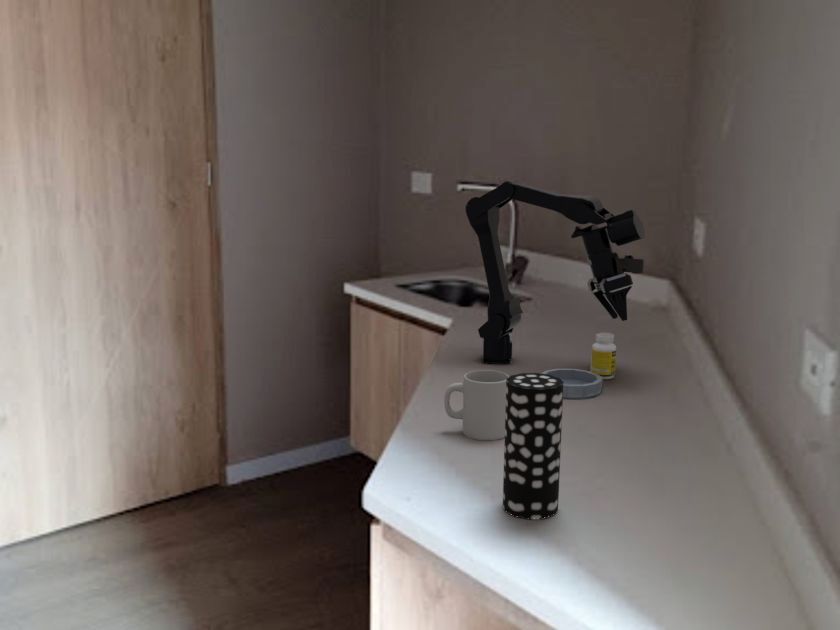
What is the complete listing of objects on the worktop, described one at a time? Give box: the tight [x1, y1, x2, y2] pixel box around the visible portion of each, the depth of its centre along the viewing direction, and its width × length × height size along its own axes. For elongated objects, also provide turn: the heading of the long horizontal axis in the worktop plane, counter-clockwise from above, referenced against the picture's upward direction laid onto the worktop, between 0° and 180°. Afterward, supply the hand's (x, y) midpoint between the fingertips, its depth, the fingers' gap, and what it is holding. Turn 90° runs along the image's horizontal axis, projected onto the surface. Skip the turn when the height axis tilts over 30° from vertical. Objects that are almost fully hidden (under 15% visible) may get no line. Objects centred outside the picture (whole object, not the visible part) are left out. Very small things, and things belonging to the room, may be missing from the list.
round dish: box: [541, 368, 603, 400], centre depth 197 cm, size 13×13×3 cm
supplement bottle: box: [589, 332, 617, 380], centre depth 207 cm, size 5×5×10 cm
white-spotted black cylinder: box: [502, 372, 564, 520], centre depth 137 cm, size 8×8×20 cm
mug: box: [443, 369, 510, 441], centre depth 170 cm, size 12×8×11 cm
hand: (620, 319), depth 203 cm, fingers open, 9 cm apart
